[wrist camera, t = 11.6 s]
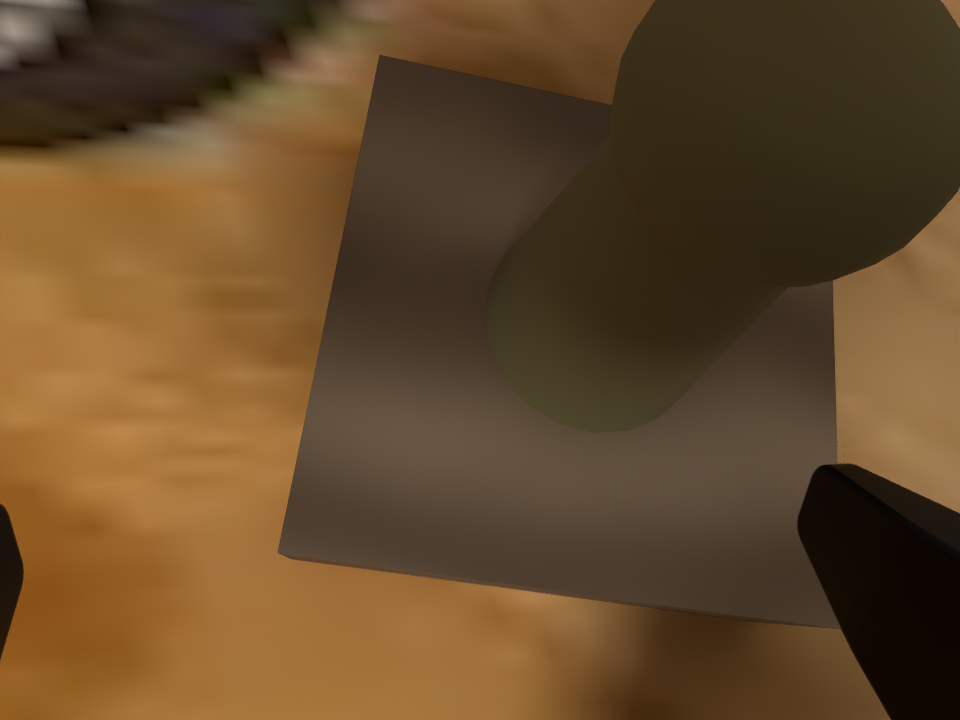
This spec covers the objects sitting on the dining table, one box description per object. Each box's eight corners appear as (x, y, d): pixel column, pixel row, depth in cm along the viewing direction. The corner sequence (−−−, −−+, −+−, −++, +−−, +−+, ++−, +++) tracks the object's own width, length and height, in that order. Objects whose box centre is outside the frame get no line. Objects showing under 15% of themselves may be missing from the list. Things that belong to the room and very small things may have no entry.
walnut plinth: (759, 622, 22) (841, 629, 19) (291, 559, 21) (277, 552, 17) (761, 214, 27) (829, 152, 23) (375, 135, 25) (379, 54, 21)
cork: (575, 181, 21) (791, -213, 11) (741, 318, 21) (1133, 46, 10) (437, 327, 19) (538, 16, 9) (617, 481, 19) (947, 349, 8)
